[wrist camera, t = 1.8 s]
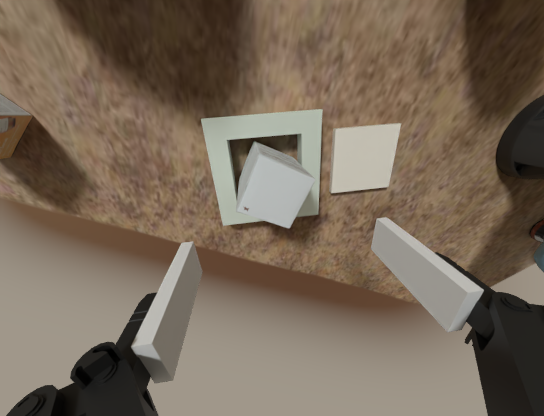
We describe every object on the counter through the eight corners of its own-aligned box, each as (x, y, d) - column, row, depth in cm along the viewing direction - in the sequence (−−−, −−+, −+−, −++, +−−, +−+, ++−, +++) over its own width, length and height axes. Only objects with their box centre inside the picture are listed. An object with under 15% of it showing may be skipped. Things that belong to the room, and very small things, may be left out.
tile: (397, 123, 33) (401, 123, 32) (385, 185, 38) (388, 187, 37) (333, 128, 32) (335, 129, 31) (329, 191, 37) (331, 193, 36)
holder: (315, 109, 31) (322, 109, 28) (313, 207, 38) (318, 214, 36) (205, 118, 30) (200, 118, 27) (224, 217, 37) (223, 225, 34)
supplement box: (276, 194, 36) (289, 231, 25) (238, 179, 34) (233, 212, 23) (294, 157, 34) (318, 179, 22) (254, 138, 32) (257, 153, 20)
